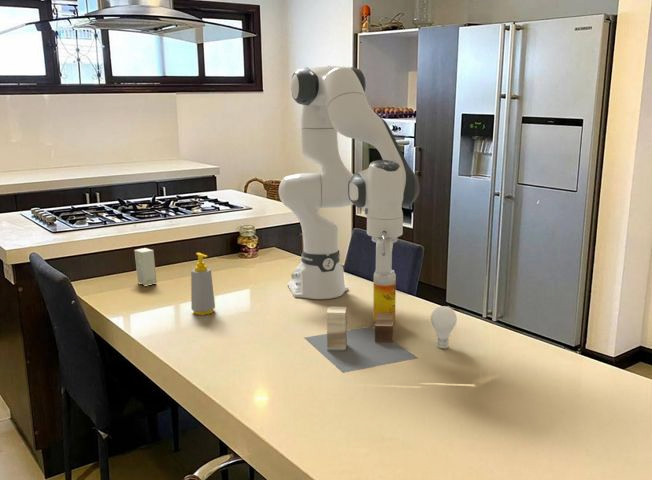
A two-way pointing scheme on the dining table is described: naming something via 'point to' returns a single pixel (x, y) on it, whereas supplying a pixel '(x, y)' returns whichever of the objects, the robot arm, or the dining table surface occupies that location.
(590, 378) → the dining table surface
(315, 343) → the rubber mat
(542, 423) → the dining table surface
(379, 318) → the walnut block
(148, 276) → the skincare box
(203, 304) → the soap bottle
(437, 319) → the lightbulb
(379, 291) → the beer can
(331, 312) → the maple block
